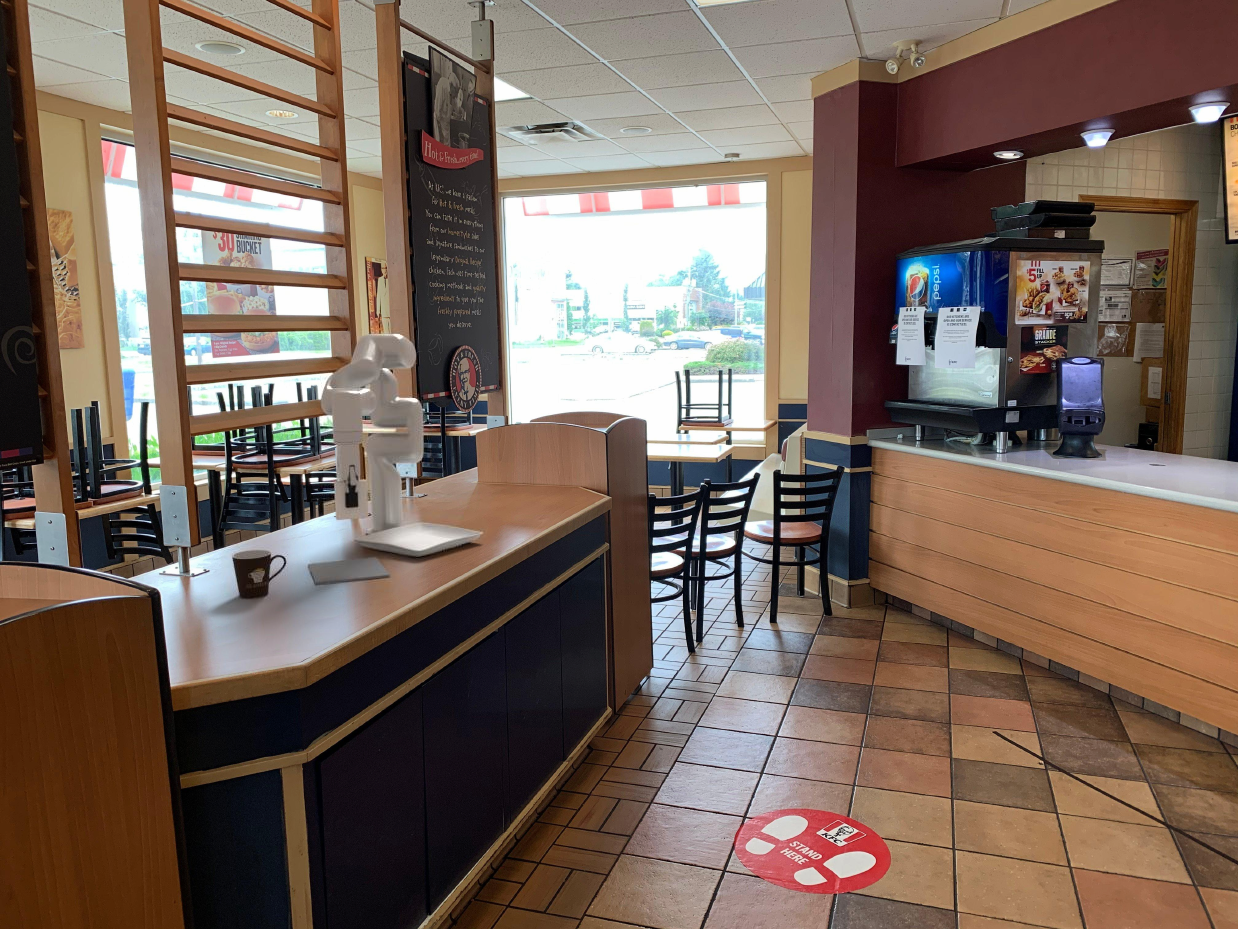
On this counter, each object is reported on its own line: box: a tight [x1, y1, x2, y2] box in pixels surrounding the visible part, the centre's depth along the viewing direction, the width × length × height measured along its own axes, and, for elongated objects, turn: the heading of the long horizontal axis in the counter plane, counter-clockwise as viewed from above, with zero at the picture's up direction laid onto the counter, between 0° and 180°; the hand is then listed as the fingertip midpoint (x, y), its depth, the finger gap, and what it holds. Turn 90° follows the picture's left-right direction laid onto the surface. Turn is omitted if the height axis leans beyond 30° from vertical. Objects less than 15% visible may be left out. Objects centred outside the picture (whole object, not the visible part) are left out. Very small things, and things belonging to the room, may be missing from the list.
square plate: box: [353, 522, 484, 557], centre depth 260 cm, size 27×27×4 cm
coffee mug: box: [231, 549, 287, 600], centre depth 210 cm, size 12×9×10 cm
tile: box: [333, 479, 369, 521], centre depth 233 cm, size 3×8×10 cm, turn 115°
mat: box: [307, 556, 390, 586], centre depth 231 cm, size 20×18×1 cm
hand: (351, 505), depth 233 cm, fingers closed on tile, 2 cm apart
